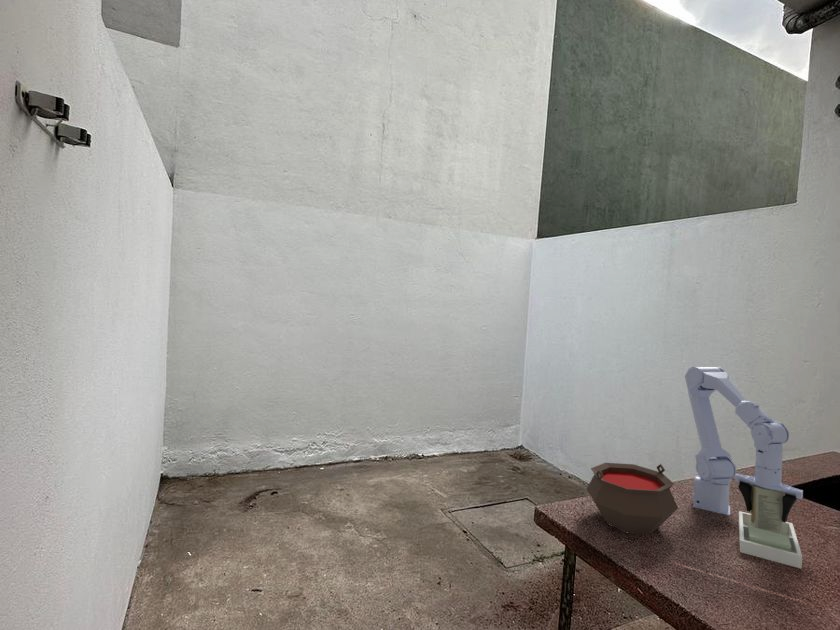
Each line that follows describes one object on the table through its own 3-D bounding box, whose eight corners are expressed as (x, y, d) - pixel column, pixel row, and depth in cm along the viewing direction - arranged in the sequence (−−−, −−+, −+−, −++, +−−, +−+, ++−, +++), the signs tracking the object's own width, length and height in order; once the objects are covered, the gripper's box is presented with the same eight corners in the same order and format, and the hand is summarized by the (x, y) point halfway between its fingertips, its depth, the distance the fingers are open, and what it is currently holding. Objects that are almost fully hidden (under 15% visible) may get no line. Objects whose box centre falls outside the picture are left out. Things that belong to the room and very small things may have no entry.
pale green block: (748, 550, 114) (749, 535, 114) (748, 540, 119) (748, 526, 119) (790, 561, 109) (791, 546, 109) (787, 550, 114) (788, 535, 114)
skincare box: (777, 530, 123) (779, 486, 123) (782, 537, 119) (785, 492, 119) (748, 524, 125) (751, 481, 125) (753, 531, 121) (756, 487, 121)
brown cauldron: (623, 550, 114) (625, 486, 114) (568, 508, 137) (570, 455, 137) (698, 538, 121) (700, 478, 120) (633, 500, 144) (635, 450, 143)
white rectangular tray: (739, 553, 113) (740, 540, 113) (738, 522, 130) (738, 511, 130) (801, 570, 106) (802, 556, 106) (791, 535, 123) (792, 523, 123)
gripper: (806, 471, 119) (804, 521, 119) (741, 456, 130) (739, 502, 130) (800, 477, 114) (798, 529, 114) (733, 461, 125) (731, 509, 125)
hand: (766, 515), depth 122 cm, fingers closed on skincare box, 7 cm apart
